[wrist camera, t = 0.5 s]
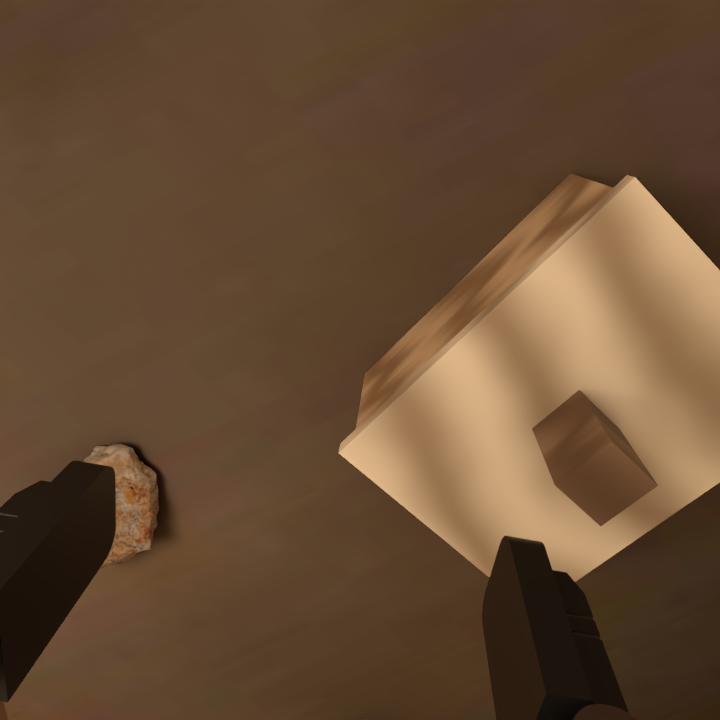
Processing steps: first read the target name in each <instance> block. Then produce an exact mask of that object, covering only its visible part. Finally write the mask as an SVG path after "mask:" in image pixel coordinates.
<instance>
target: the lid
mask: <svg viewBox="0 0 720 720" xmlns="http://www.w3.org/2000/svg"><path fill="white" fill-rule="evenodd" d="M339 454H340V455H341V456H343V457H344V458H345V459H346V460H348V461H349V462H350V463H351V464H352V465H354V466H355V467H356V468H357V469H358V470H360V471H361V472H362V473H363V474H365V475H366V476H367V477H368V478H369V479H371V480H372V481H373V482H374V483H375V484H377V485H378V486H379V487H380V488H382V489H383V490H384V491H385V492H386V493H388V494H389V495H390V496H391V497H392V498H394V499H395V500H396V501H397V502H399V503H400V504H401V505H402V506H403V507H405V508H406V509H407V510H408V511H409V512H411V513H412V514H413V515H414V516H416V517H417V518H418V519H419V520H420V521H422V522H423V523H424V524H425V525H426V526H428V527H429V528H430V529H431V530H433V531H434V532H435V533H436V534H437V535H439V536H440V537H441V538H442V539H443V540H445V541H446V542H447V543H448V544H450V545H451V546H452V547H453V548H454V549H456V550H457V551H458V552H459V553H460V554H462V555H463V556H464V557H465V558H466V559H468V560H469V561H470V562H471V563H473V564H474V565H475V566H476V567H477V568H479V569H480V570H481V571H482V572H483V573H485V574H486V575H487V576H488V577H490V575H491V572H492V568H493V565H494V562H495V558H496V555H497V552H498V549H499V545H500V542H501V540H502V538H503V537H504V536H511V537H517V538H523V539H528V540H534V541H540V542H542V543H543V544H544V546H545V549H546V552H547V555H548V558H549V561H550V564H551V567H552V570H555V571H561V572H567V573H568V575H569V576H570V577H571V578H572V579H573V581H574V582H576V581H577V580H578V579H580V578H581V577H583V576H584V575H586V574H587V573H589V572H590V571H592V570H593V569H594V568H596V567H597V566H599V565H600V564H602V563H603V562H605V561H606V560H608V559H609V558H610V557H612V556H613V555H615V554H616V553H618V552H619V551H621V550H622V549H624V548H625V547H626V546H628V545H629V544H631V543H632V542H634V541H635V540H637V539H638V538H639V537H641V536H642V535H644V534H645V533H647V532H648V531H650V530H651V529H653V528H654V527H655V526H657V525H658V524H660V523H661V522H663V521H664V520H666V519H667V518H669V517H670V516H671V515H673V514H674V513H676V512H677V511H679V510H680V509H682V508H683V507H685V506H686V505H687V504H689V503H690V502H692V501H693V500H695V499H696V498H698V497H699V496H701V495H702V494H703V493H705V492H706V491H708V490H709V489H711V488H712V487H714V486H715V485H717V484H718V483H719V482H720V270H719V269H718V268H717V267H716V266H715V265H714V264H713V262H712V261H711V260H710V259H709V258H708V257H707V256H706V255H705V254H704V253H703V251H702V250H701V249H700V248H699V247H698V246H697V245H696V244H695V243H694V241H693V240H692V239H691V238H690V237H689V236H688V235H687V234H686V233H685V232H684V230H683V229H682V228H681V227H680V226H679V225H678V224H677V223H676V222H675V221H674V219H673V218H672V217H671V216H670V215H669V214H668V213H667V212H666V211H665V210H664V208H663V207H662V206H661V205H660V204H659V203H658V202H657V201H656V200H655V198H654V197H653V196H652V195H651V194H650V193H649V192H648V191H647V190H646V189H645V187H644V186H643V185H642V184H641V183H640V182H639V181H638V180H637V179H636V178H635V177H632V176H629V175H627V176H626V177H625V178H623V179H622V180H621V181H620V182H619V183H618V184H617V185H616V186H615V187H614V188H613V189H612V190H611V191H610V192H609V193H607V194H606V195H605V196H604V197H603V198H602V199H601V200H600V201H599V202H598V203H597V204H596V205H595V206H594V207H593V208H591V209H590V210H589V211H588V212H587V213H586V214H585V215H584V216H583V217H582V218H581V219H580V220H579V221H578V222H577V223H575V224H574V225H573V226H572V227H571V228H570V229H569V230H568V231H567V232H566V233H565V234H564V235H563V236H562V237H560V238H559V239H558V240H557V241H556V242H555V243H554V244H553V245H552V246H551V247H550V248H549V249H548V250H547V251H546V252H544V253H543V254H542V255H541V256H540V257H539V258H538V259H537V260H536V261H535V262H534V263H533V264H532V265H531V266H530V267H528V268H527V269H526V270H525V271H524V272H523V273H522V274H521V275H520V276H519V277H518V278H517V279H516V280H515V281H513V282H512V283H511V284H510V285H509V286H508V287H507V288H506V289H505V290H504V291H503V292H502V293H501V294H500V295H499V296H497V297H496V298H495V299H494V300H493V301H492V302H491V303H490V304H489V305H488V306H487V307H486V308H485V309H484V310H483V311H481V312H480V313H479V314H478V315H477V316H476V317H475V318H474V319H473V320H472V321H471V322H470V323H469V324H468V325H466V326H465V327H464V328H463V329H462V330H461V331H460V332H459V333H458V334H457V335H456V336H455V337H454V338H453V339H452V340H450V341H449V342H448V343H447V344H446V345H445V346H444V347H443V348H442V349H441V350H440V351H439V352H438V353H437V354H436V355H434V356H433V357H432V358H431V359H430V360H429V361H428V362H427V363H426V364H425V365H424V366H423V367H422V368H421V369H419V370H418V371H417V372H416V373H415V374H414V375H413V376H412V377H411V378H410V379H409V380H408V381H407V382H406V383H405V384H403V385H402V386H401V387H400V388H399V389H398V390H397V391H396V392H395V393H394V394H393V395H392V396H391V397H390V398H389V399H387V400H386V401H385V402H384V403H383V404H382V405H381V406H380V407H379V408H378V409H377V410H376V411H375V412H374V413H372V414H371V415H370V416H369V417H368V418H367V419H366V420H365V421H364V422H363V423H362V424H361V425H360V426H359V427H358V428H356V429H355V430H354V431H353V432H352V433H351V434H350V435H349V436H348V437H347V438H346V439H345V440H344V441H343V442H342V443H340V448H339Z"/></svg>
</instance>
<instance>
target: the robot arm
mask: <svg viewBox="0 0 720 720" xmlns="http://www.w3.org/2000/svg"><path fill="white" fill-rule="evenodd" d="M115 531H116V489H115V471H114V469H113V467H111V466H105V465H99V464H93V463H87V462H82V461H72V462H71V463H70V464H68V465H67V466H66V467H65V468H64V469H63V471H62V472H61V473H60V474H59V475H58V476H57V477H56V478H55V479H54V480H53V481H52V482H47V481H39V482H37V483H35V484H33V485H31V486H29V487H27V488H25V489H23V490H22V491H20V492H18V493H16V494H14V495H13V496H12V497H11V498H10V499H9V500H8V501H7V502H6V503H5V504H4V505H3V506H2V507H1V508H0V701H4V702H8V701H9V700H10V698H11V697H12V695H13V694H14V693H15V691H16V690H17V688H18V687H19V685H20V684H21V682H22V681H23V679H24V678H25V677H26V675H27V674H28V672H29V671H30V669H31V668H32V666H33V665H34V663H35V662H36V660H37V659H38V658H39V656H40V655H41V653H42V652H43V650H44V649H45V647H46V646H47V644H48V643H49V642H50V640H51V639H52V637H53V636H54V634H55V633H56V631H57V630H58V628H59V627H60V625H61V624H62V623H63V621H64V620H65V618H66V617H67V615H68V614H69V612H70V611H71V609H72V608H73V606H74V605H75V604H76V602H77V601H78V599H79V598H80V596H81V595H82V593H83V592H84V590H85V589H86V588H87V586H88V585H89V583H90V582H91V580H92V579H93V577H94V576H95V574H96V573H97V571H98V570H99V569H100V567H101V566H102V564H103V563H104V561H105V560H106V558H107V556H108V554H109V552H110V550H111V547H112V544H113V541H114V537H115ZM482 622H483V631H484V638H485V645H486V651H487V658H488V665H489V672H490V678H491V685H492V692H493V699H494V705H495V712H496V719H497V720H638V719H637V718H636V717H634V716H632V715H631V714H629V712H628V709H627V707H626V704H625V701H624V699H623V696H622V693H621V691H620V688H619V685H618V683H617V680H616V677H615V675H614V672H613V669H612V666H611V664H610V661H609V658H608V656H607V653H606V650H605V648H604V645H603V642H602V640H600V634H599V631H598V629H597V626H596V623H595V621H593V615H592V613H591V610H590V607H589V605H588V602H587V599H586V597H585V594H584V593H583V591H582V590H581V589H580V588H579V587H578V585H577V584H576V583H575V582H574V581H573V579H572V578H571V577H570V576H569V575H568V573H567V572H561V571H555V570H552V567H551V564H550V561H549V558H548V555H547V552H546V549H545V546H544V544H543V543H542V542H540V541H534V540H528V539H523V538H517V537H511V536H504V537H503V538H502V540H501V542H500V545H499V549H498V552H497V555H496V558H495V562H494V565H493V568H492V572H491V575H490V578H489V582H488V585H487V588H486V592H485V596H484V601H483V611H482Z"/></svg>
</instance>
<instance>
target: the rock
mask: <svg viewBox="0 0 720 720" xmlns="http://www.w3.org/2000/svg"><path fill="white" fill-rule="evenodd" d="M84 462H87V463H93V464H99V465H105V466H111V467H113V469H114V471H115V489H116V531H115V537H114V541H113V544H112V547H111V550H110V552H109V554H108V556H107V558H106V560H105V561H104V563H103V564H102V566H101V567H100V568H102V567H106V566H108V565H112V564H115V563H123V562H125V561H127V560H128V559H130V558H131V557H133V556H134V555H135V554H136V553H139V552H142V551H145V550H150V549H151V547H152V542H153V531H154V530H155V528H156V526H157V521H156V520H157V517H156V515H157V513H158V510H159V504H158V485H157V476H156V473H155V471H153V470H152V469H151V468H149V467H148V466H146V465H144V463H143V462H141V461H140V460H139V459H138V456H137V455H136V453H135V452H134V450H133V448H131V447H129V446H126V445H123V444H114V445H111V446H107V447H106V446H96V447H95V448H94V450H93V452H92V453H91V455H90V456H88V457H87V458H86V459H84Z"/></svg>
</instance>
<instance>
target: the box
mask: <svg viewBox="0 0 720 720" xmlns="http://www.w3.org/2000/svg"><path fill="white" fill-rule="evenodd" d="M612 189H613V188H612V187H610V186H607V185H604V184H601V183H598V182H595V181H592V180H589V179H586V178H583V177H580V176H577V175H574V174H569V175H568V176H567V177H566V178H565V179H564V180H563V181H562V182H561V183H560V184H559V185H558V186H557V187H556V188H555V189H554V190H553V191H552V192H551V193H550V194H549V195H548V196H547V197H546V198H545V199H544V200H543V201H542V202H541V203H540V204H539V205H538V206H537V207H536V208H535V209H534V210H533V211H532V212H530V213H529V214H528V215H527V216H526V217H525V218H524V219H523V220H522V221H521V222H520V223H519V224H518V225H517V226H516V227H515V228H514V229H513V230H512V231H511V232H510V233H509V234H508V235H507V236H506V237H505V238H504V239H503V240H502V241H501V242H500V243H499V244H498V245H497V246H496V247H495V248H494V249H493V250H491V251H490V252H489V253H488V254H487V255H486V256H485V257H484V258H483V259H482V260H481V261H480V262H479V263H478V264H477V265H476V266H475V267H474V268H473V269H472V270H471V271H470V272H469V273H468V274H467V275H466V276H465V277H464V278H463V279H462V280H461V281H460V282H459V283H458V284H457V285H456V286H455V287H453V288H452V289H451V290H450V291H449V292H448V293H447V294H446V295H445V296H444V297H443V298H442V299H441V300H440V301H439V302H438V303H437V304H436V305H435V306H434V307H433V308H432V309H431V310H430V311H429V312H428V313H427V314H426V315H425V316H424V317H423V318H422V319H421V320H420V321H419V322H418V323H417V324H416V325H414V326H413V327H412V328H411V329H410V330H409V331H408V332H407V333H406V334H405V335H404V336H403V337H402V338H401V339H400V340H399V341H398V342H397V343H396V344H395V345H394V346H393V347H392V348H391V349H390V350H389V351H388V352H387V353H386V354H385V355H384V356H383V357H382V358H381V359H380V360H379V361H378V362H377V363H375V364H374V365H373V366H372V367H371V368H370V369H369V370H368V371H367V372H366V373H365V377H364V383H363V389H362V395H361V401H360V407H359V413H358V419H357V425H356V428H358V427H359V426H360V425H361V424H362V423H363V422H364V421H365V420H366V419H367V418H368V417H369V416H370V415H371V414H372V413H374V412H375V411H376V410H377V409H378V408H379V407H380V406H381V405H382V404H383V403H384V402H385V401H386V400H387V399H389V398H390V397H391V396H392V395H393V394H394V393H395V392H396V391H397V390H398V389H399V388H400V387H401V386H402V385H403V384H405V383H406V382H407V381H408V380H409V379H410V378H411V377H412V376H413V375H414V374H415V373H416V372H417V371H418V370H419V369H421V368H422V367H423V366H424V365H425V364H426V363H427V362H428V361H429V360H430V359H431V358H432V357H433V356H434V355H436V354H437V353H438V352H439V351H440V350H441V349H442V348H443V347H444V346H445V345H446V344H447V343H448V342H449V341H450V340H452V339H453V338H454V337H455V336H456V335H457V334H458V333H459V332H460V331H461V330H462V329H463V328H464V327H465V326H466V325H468V324H469V323H470V322H471V321H472V320H473V319H474V318H475V317H476V316H477V315H478V314H479V313H480V312H481V311H483V310H484V309H485V308H486V307H487V306H488V305H489V304H490V303H491V302H492V301H493V300H494V299H495V298H496V297H497V296H499V295H500V294H501V293H502V292H503V291H504V290H505V289H506V288H507V287H508V286H509V285H510V284H511V283H512V282H513V281H515V280H516V279H517V278H518V277H519V276H520V275H521V274H522V273H523V272H524V271H525V270H526V269H527V268H528V267H530V266H531V265H532V264H533V263H534V262H535V261H536V260H537V259H538V258H539V257H540V256H541V255H542V254H543V253H544V252H546V251H547V250H548V249H549V248H550V247H551V246H552V245H553V244H554V243H555V242H556V241H557V240H558V239H559V238H560V237H562V236H563V235H564V234H565V233H566V232H567V231H568V230H569V229H570V228H571V227H572V226H573V225H574V224H575V223H577V222H578V221H579V220H580V219H581V218H582V217H583V216H584V215H585V214H586V213H587V212H588V211H589V210H590V209H591V208H593V207H594V206H595V205H596V204H597V203H598V202H599V201H600V200H601V199H602V198H603V197H604V196H605V195H606V194H607V193H609V192H610V191H611V190H612Z"/></svg>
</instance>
